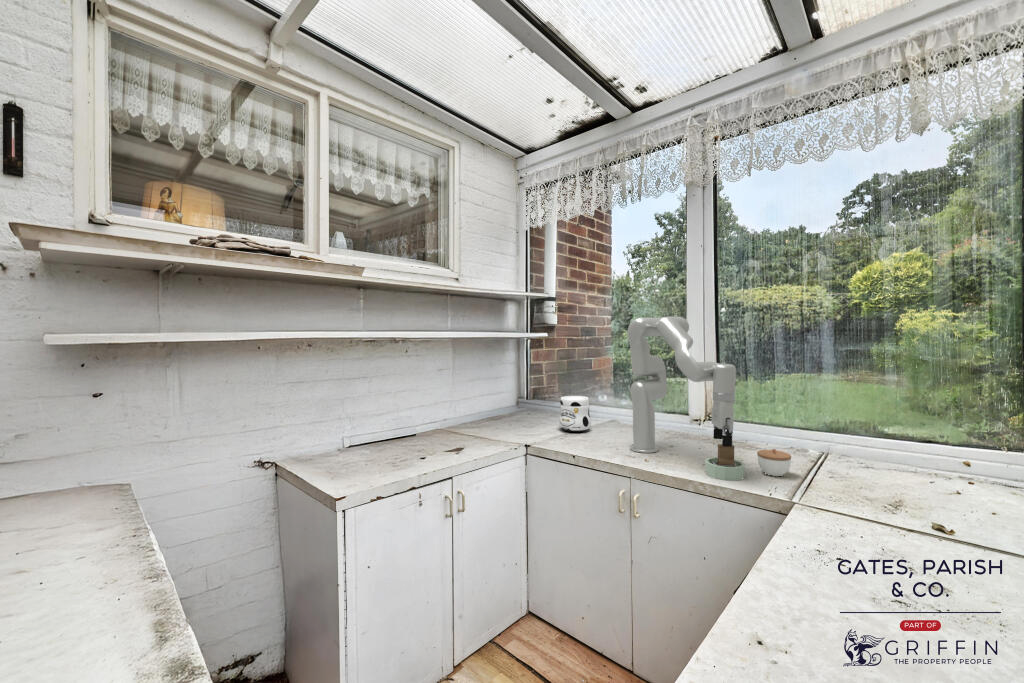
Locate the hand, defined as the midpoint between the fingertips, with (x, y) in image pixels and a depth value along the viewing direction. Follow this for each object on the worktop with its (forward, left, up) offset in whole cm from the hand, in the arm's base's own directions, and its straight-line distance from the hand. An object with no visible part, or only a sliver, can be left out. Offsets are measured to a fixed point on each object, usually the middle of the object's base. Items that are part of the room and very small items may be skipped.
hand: (722, 442), depth 160 cm
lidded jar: (-1, +19, -12) cm, 22 cm away
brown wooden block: (+1, +1, -11) cm, 11 cm away
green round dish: (+1, +1, -12) cm, 12 cm away
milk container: (-67, -54, -12) cm, 87 cm away
